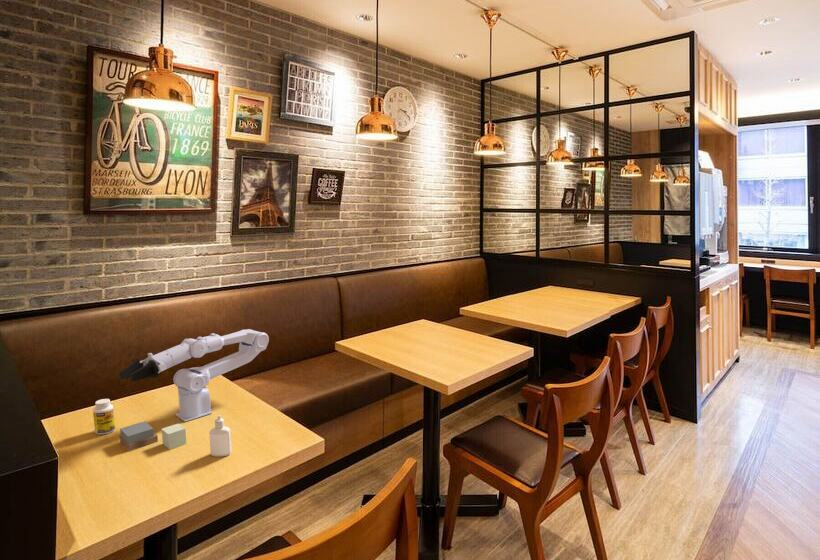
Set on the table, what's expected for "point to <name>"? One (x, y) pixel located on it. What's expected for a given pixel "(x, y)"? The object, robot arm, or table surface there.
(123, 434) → the slate gray middle block
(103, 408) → the supplement bottle
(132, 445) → the walnut base slab
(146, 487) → the table surface
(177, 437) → the sage cube
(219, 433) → the eye dropper bottle
